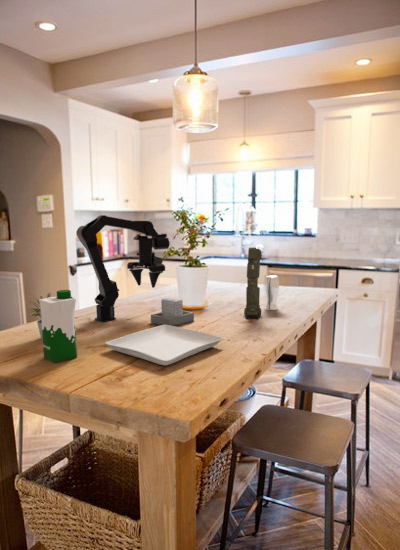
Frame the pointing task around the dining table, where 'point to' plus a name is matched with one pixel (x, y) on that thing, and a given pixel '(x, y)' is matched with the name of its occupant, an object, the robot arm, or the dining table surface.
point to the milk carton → (58, 327)
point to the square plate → (164, 343)
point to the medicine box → (171, 307)
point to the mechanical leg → (253, 285)
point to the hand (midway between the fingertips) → (146, 286)
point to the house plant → (39, 314)
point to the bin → (172, 319)
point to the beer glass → (271, 291)
